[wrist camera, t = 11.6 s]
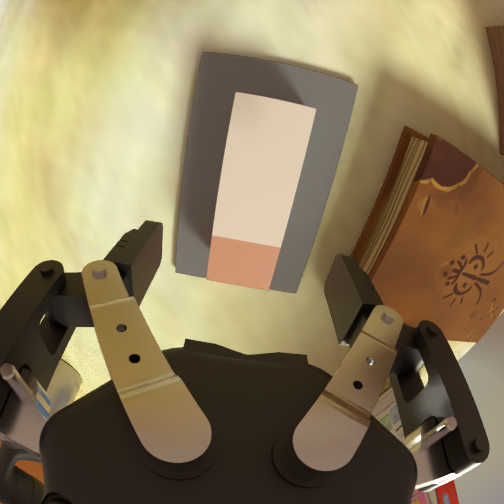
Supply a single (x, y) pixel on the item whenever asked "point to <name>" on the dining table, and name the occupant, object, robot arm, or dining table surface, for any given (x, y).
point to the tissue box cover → (498, 71)
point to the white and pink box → (257, 188)
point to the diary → (437, 239)
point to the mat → (214, 142)
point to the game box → (386, 412)
